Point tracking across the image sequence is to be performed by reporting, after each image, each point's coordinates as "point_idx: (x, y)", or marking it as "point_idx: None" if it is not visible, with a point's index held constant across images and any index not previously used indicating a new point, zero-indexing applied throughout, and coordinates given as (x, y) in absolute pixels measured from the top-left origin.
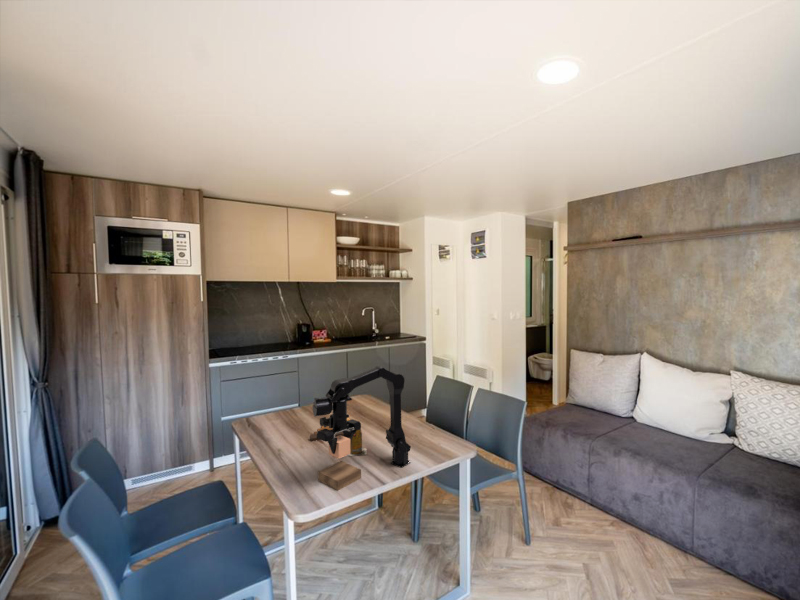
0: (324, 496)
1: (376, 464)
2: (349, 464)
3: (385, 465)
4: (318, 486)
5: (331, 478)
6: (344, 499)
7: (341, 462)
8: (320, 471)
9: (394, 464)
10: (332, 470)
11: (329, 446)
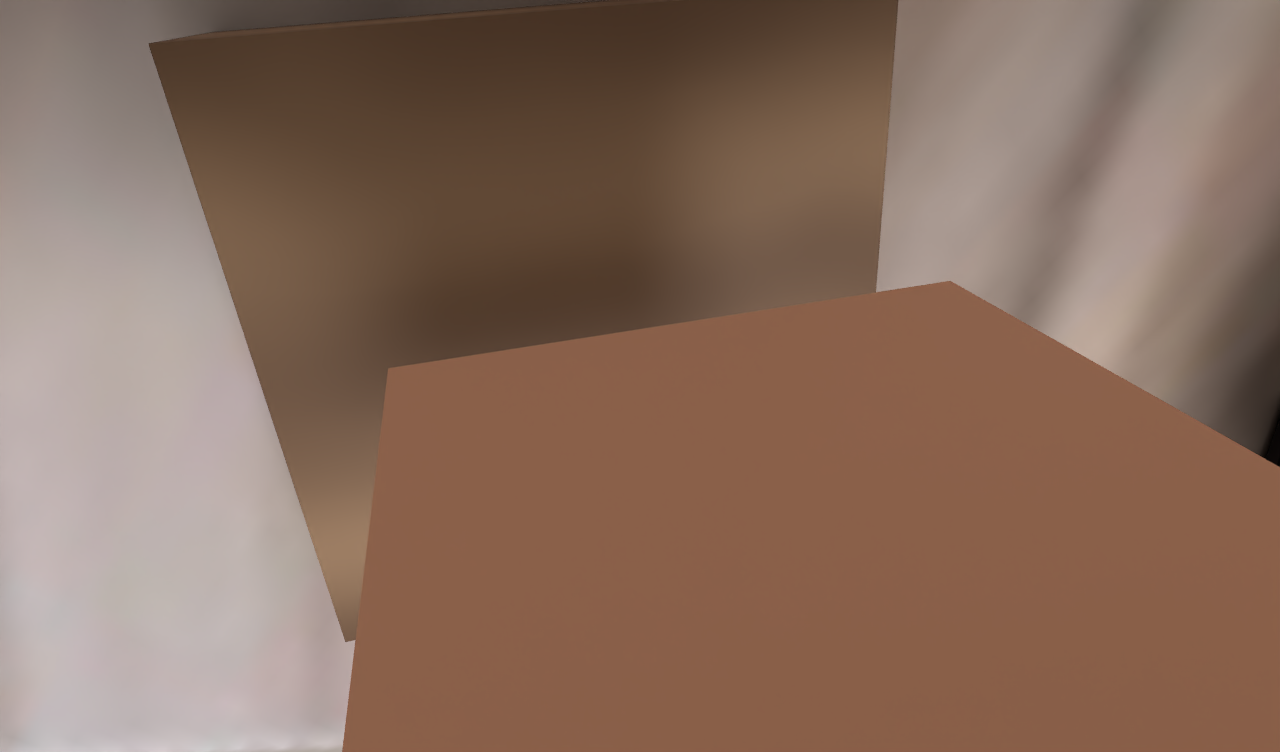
0: (102, 559)
1: (1206, 281)
2: (875, 268)
3: (1222, 384)
4: (123, 244)
5: (298, 493)
6: (322, 731)
7: (846, 60)
8: (205, 87)
9: (1272, 455)
10: (477, 248)
11: (375, 643)
